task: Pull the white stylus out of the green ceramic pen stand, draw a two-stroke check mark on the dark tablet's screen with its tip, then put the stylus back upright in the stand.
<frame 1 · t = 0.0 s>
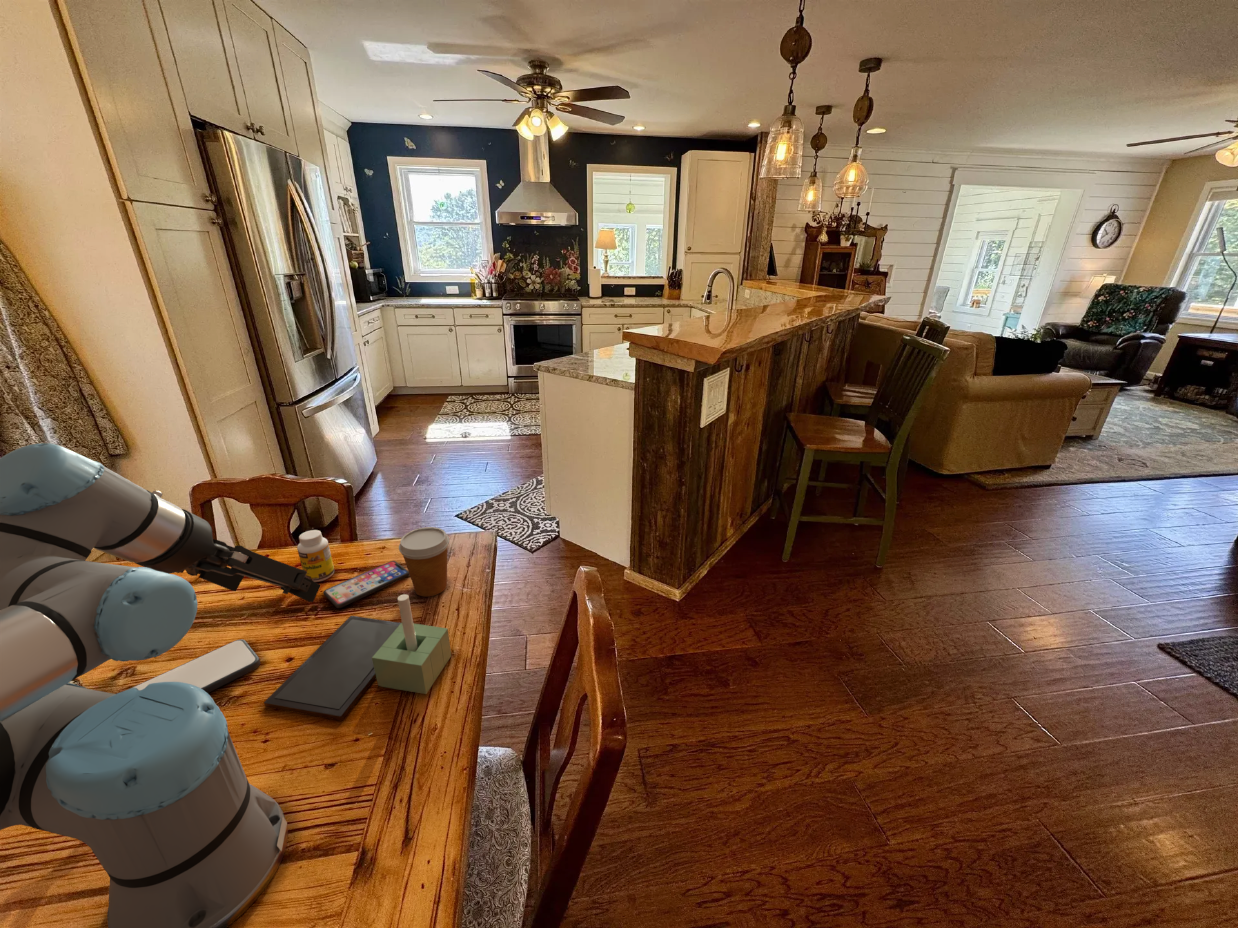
hand: (276, 587, 77), 15 cm above the table, tool tilted 35°, fingers open, 13 cm apart
smartphone: (368, 585, 103), on the table
supplement bottle: (320, 576, 105), on the table
stylus: (409, 635, 79), in the pen stand
pen stand: (416, 670, 82), on the table
disposable coffee cup: (431, 587, 103), on the table
phone case: (196, 683, 79), on the table
tablet: (347, 664, 83), on the table
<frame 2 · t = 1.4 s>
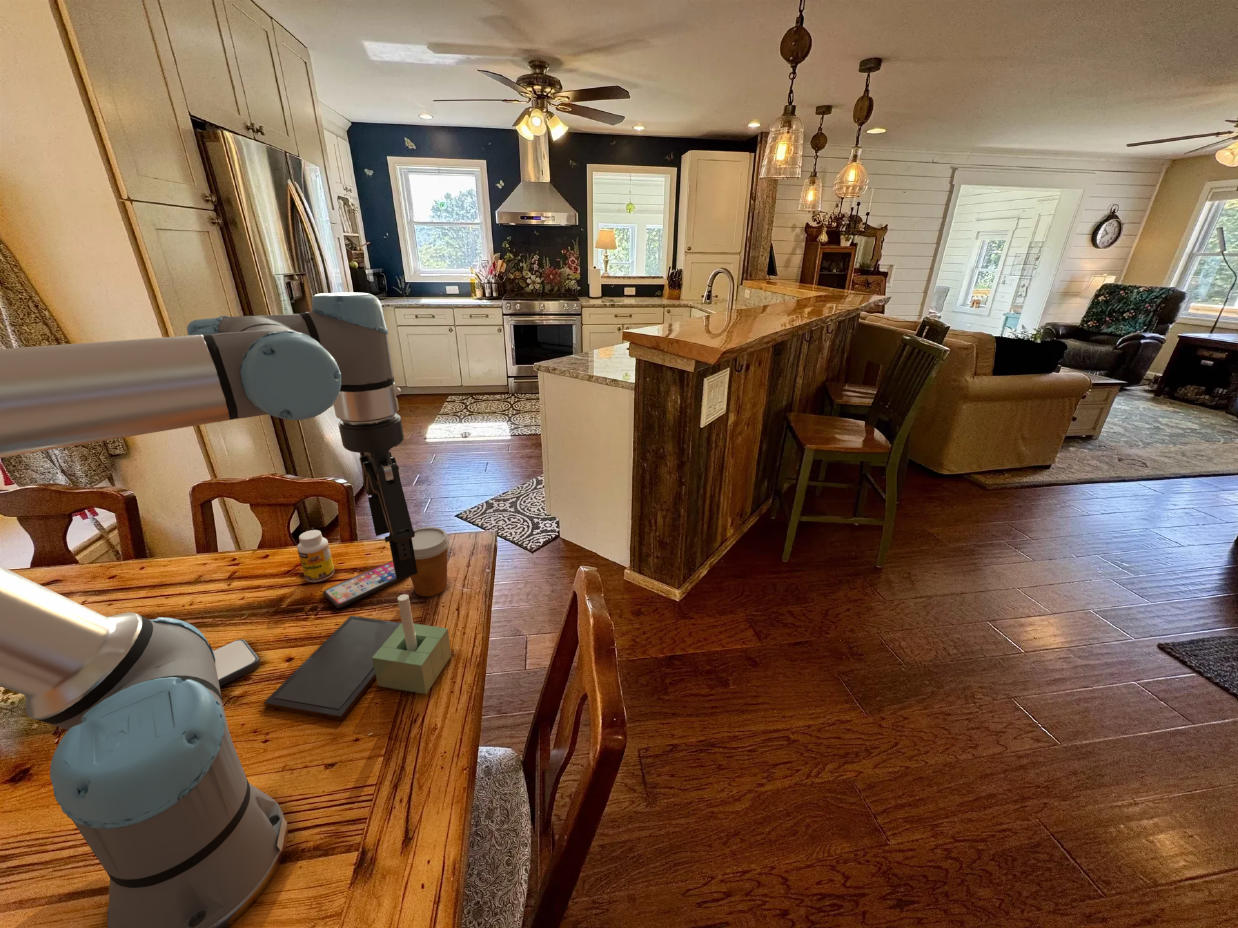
hand: (395, 552, 73), 23 cm above the table, tool pointing down, fingers open, 13 cm apart
nothing on the table moved.
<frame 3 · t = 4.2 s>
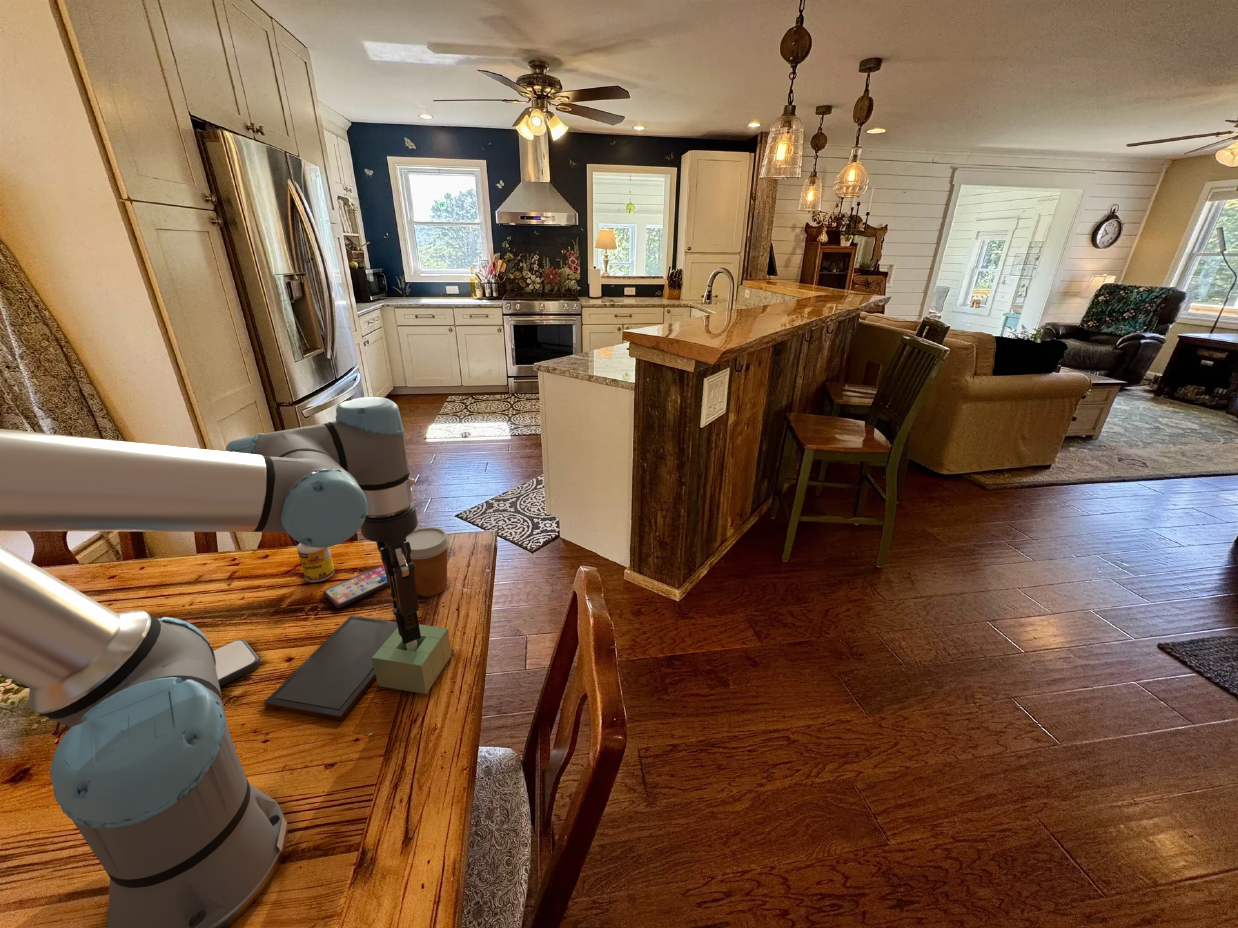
hand: (409, 635, 79), 7 cm above the table, tool pointing down, fingers closed on stylus, 1 cm apart
stylus: (409, 635, 79), in the pen stand, touching gripper
everything else where it was.
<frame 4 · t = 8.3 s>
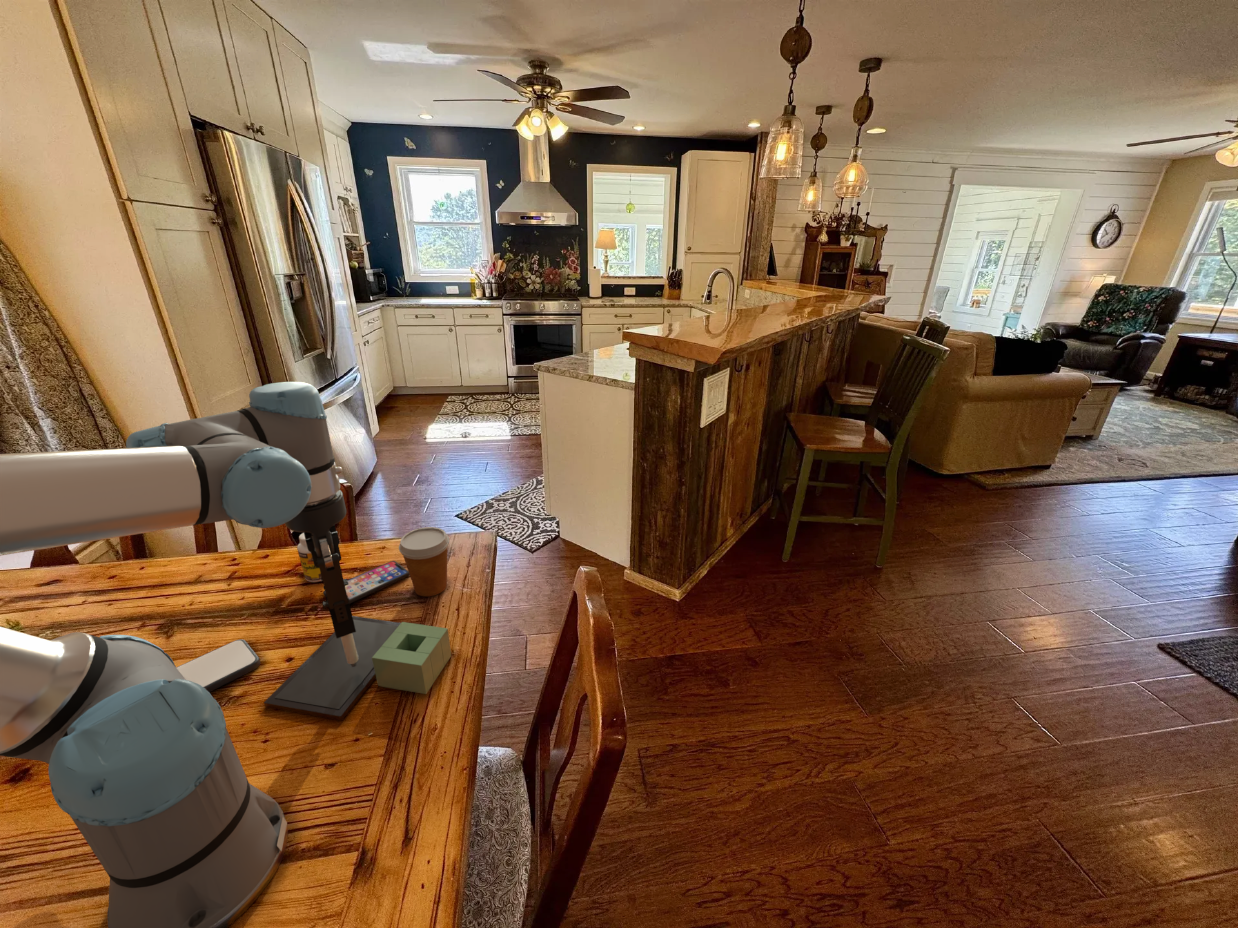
hand: (344, 629, 77), 10 cm above the table, tool pointing down, fingers closed on stylus, 1 cm apart
stylus: (345, 628, 77), point 10 cm above the table, touching gripper
everything else where it was.
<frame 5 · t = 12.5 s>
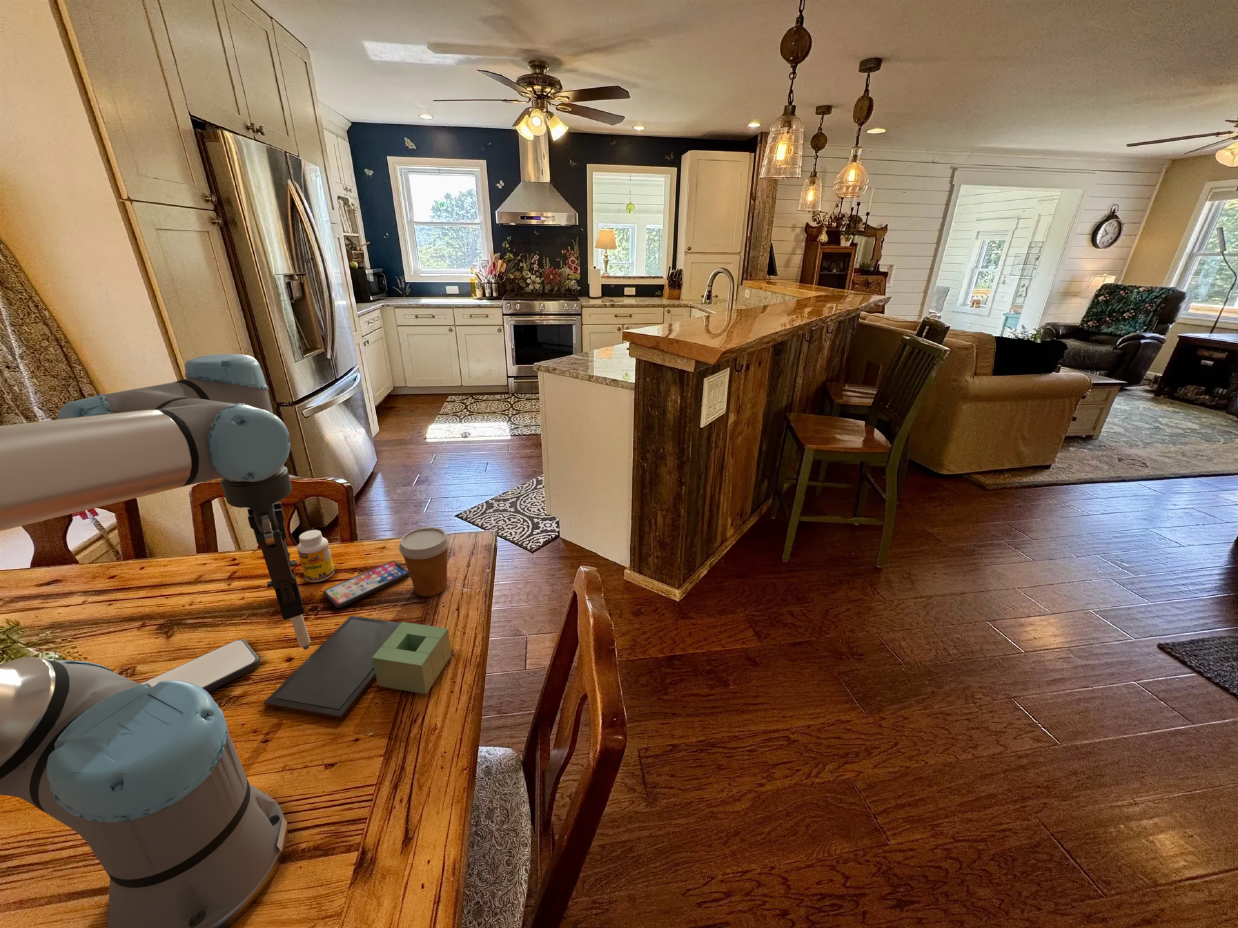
hand: (293, 611, 76), 13 cm above the table, tool pointing down, fingers closed on stylus, 1 cm apart
stylus: (294, 610, 76), point 13 cm above the table, touching gripper
everything else where it was.
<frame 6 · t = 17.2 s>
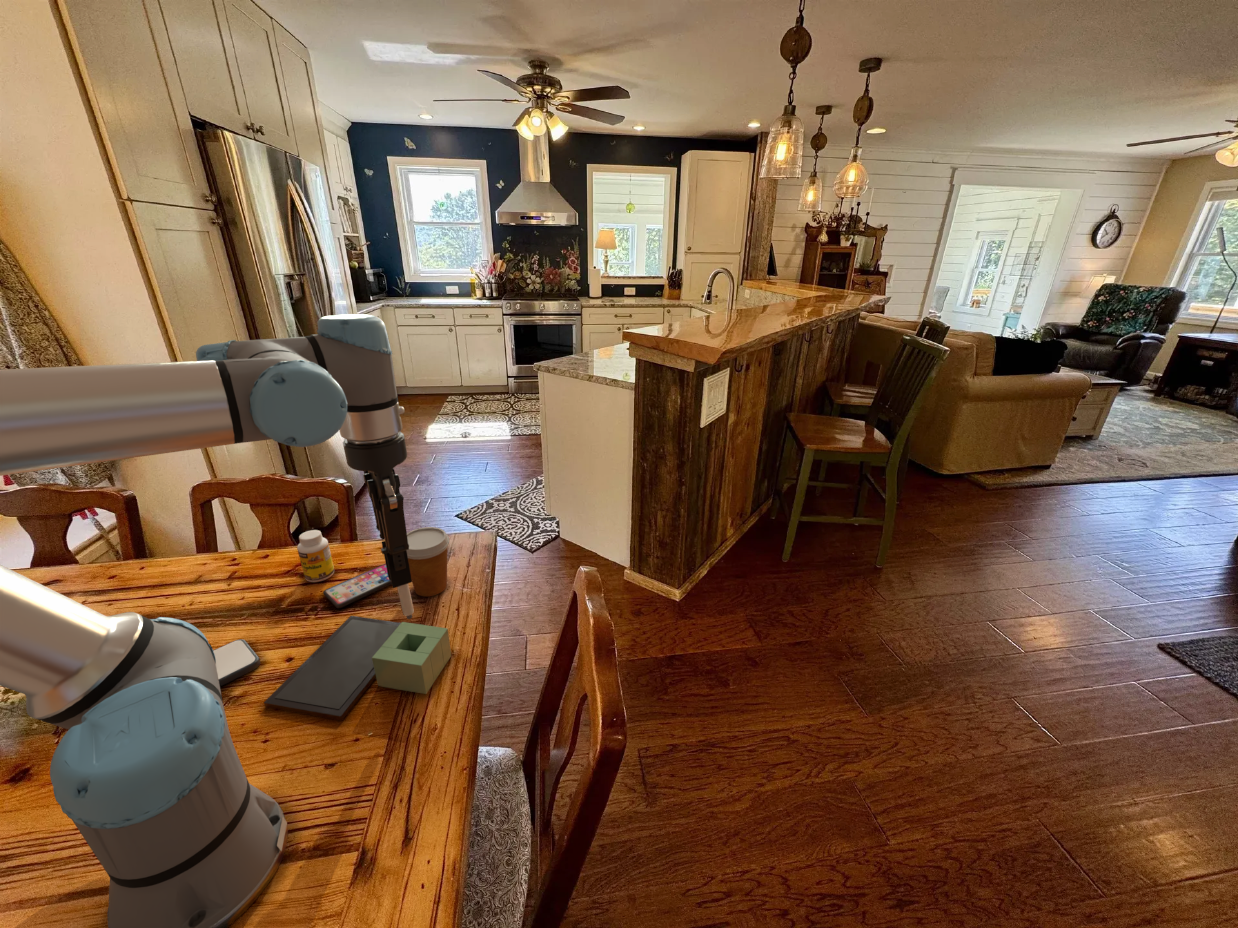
hand: (400, 579, 75), 18 cm above the table, tool pointing down, fingers closed on stylus, 1 cm apart
stylus: (401, 578, 75), point 18 cm above the table, touching gripper
everything else where it was.
when the fingers open (7 cm above the table, at t = 21.0 s): stylus stays where it is, resting in pen stand.
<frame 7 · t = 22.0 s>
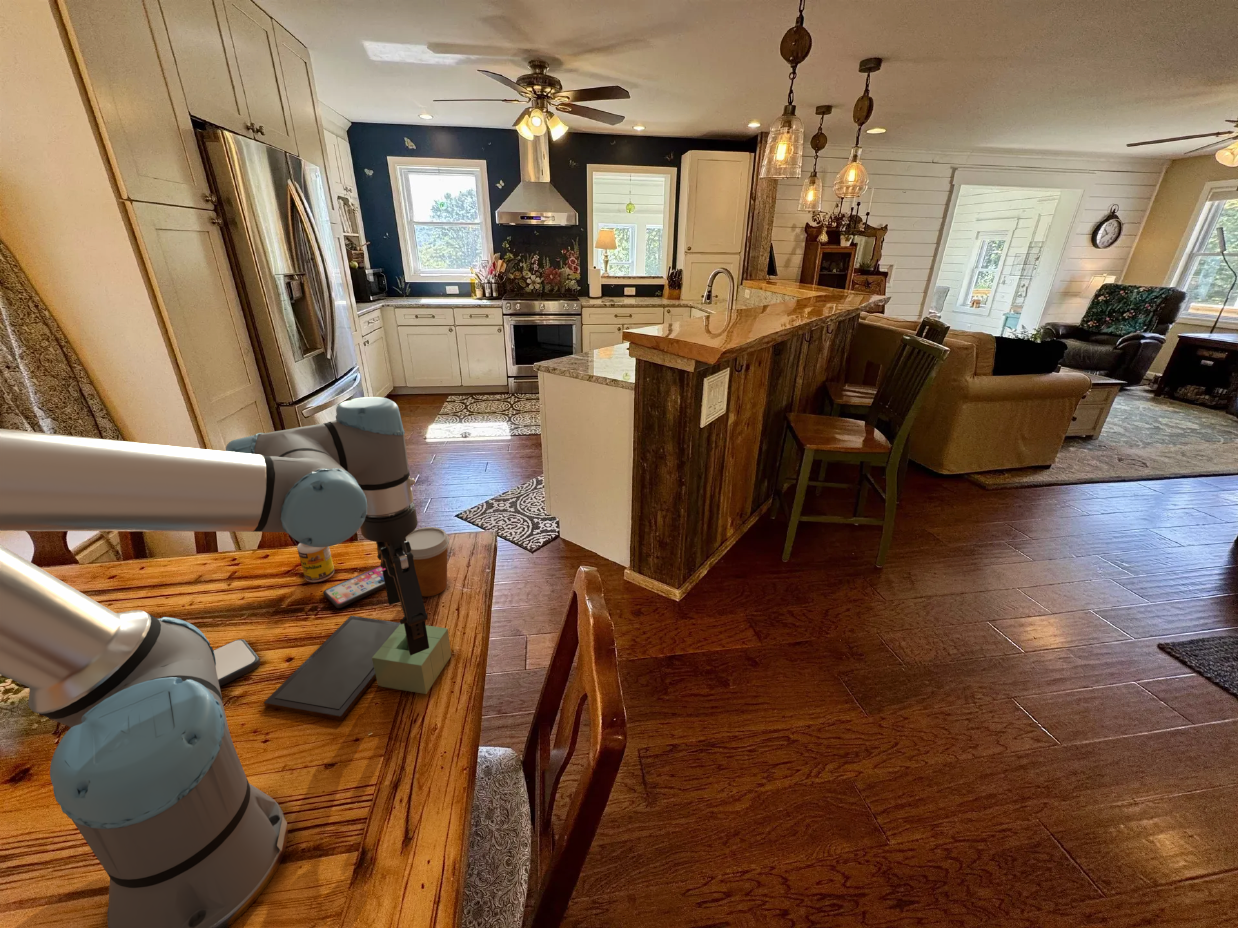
hand: (407, 624, 78), 10 cm above the table, tool pointing down, fingers open, 13 cm apart
stylus: (413, 633, 80), in the pen stand
everything else where it was.
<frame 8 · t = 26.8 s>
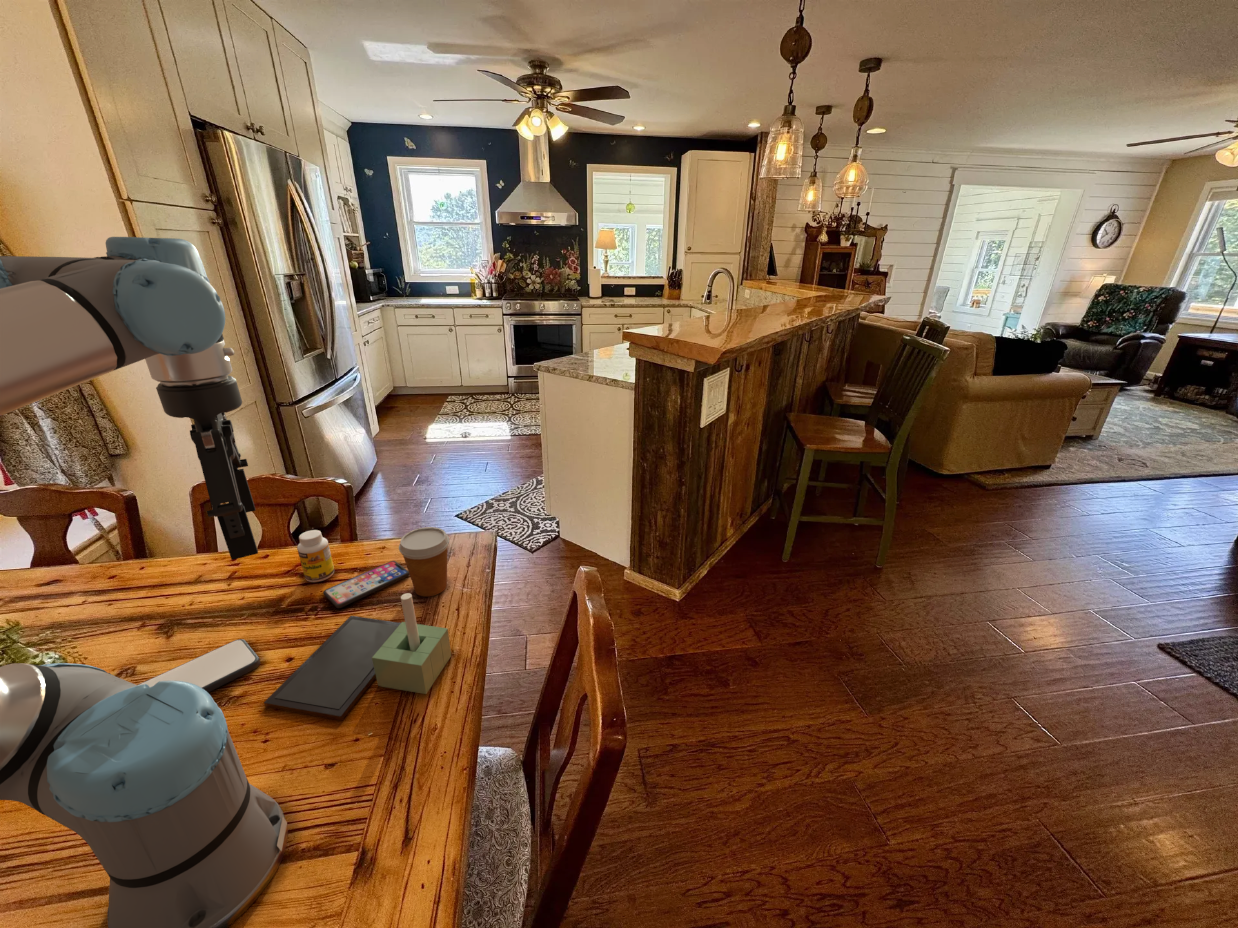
hand: (244, 532, 67), 29 cm above the table, tool pointing down, fingers open, 13 cm apart
nothing on the table moved.
at the end: stylus 0.5 cm off-centre in the pen stand, point 7.5 cm above the pen stand's base; stylus tilted 0°; the gripper is holding nothing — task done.
